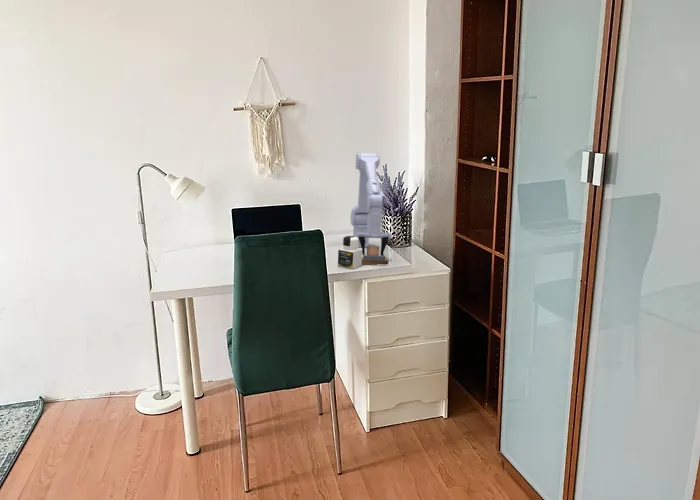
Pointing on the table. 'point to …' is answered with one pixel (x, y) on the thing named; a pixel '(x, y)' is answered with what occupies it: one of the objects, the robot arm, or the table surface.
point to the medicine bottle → (350, 253)
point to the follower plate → (373, 257)
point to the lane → (374, 261)
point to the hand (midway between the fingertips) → (372, 254)
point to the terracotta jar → (373, 250)
